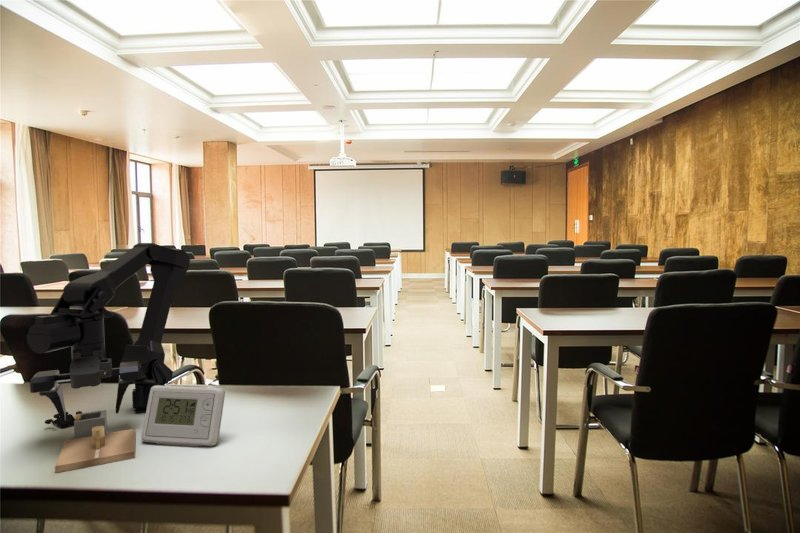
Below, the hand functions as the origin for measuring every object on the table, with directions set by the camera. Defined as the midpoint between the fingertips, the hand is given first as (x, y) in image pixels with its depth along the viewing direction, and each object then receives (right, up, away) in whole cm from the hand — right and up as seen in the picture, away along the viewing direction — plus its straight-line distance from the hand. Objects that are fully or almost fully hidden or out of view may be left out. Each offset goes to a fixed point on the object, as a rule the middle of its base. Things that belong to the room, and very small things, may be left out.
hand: (91, 416), depth 98 cm
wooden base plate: (+6, -4, -8) cm, 11 cm away
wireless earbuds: (-9, -4, +6) cm, 12 cm away
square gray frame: (0, -4, 0) cm, 4 cm away
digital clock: (+20, -4, -3) cm, 21 cm away
